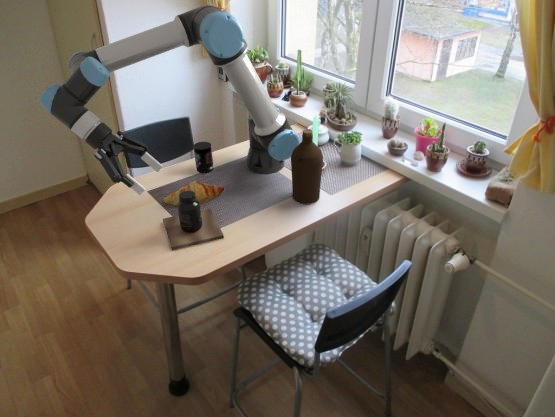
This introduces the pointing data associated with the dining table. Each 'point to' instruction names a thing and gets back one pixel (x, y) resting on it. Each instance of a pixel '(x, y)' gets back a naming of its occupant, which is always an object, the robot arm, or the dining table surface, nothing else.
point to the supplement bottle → (189, 212)
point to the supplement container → (203, 157)
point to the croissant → (196, 192)
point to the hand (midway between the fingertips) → (152, 180)
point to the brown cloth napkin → (185, 239)
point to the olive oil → (306, 170)
